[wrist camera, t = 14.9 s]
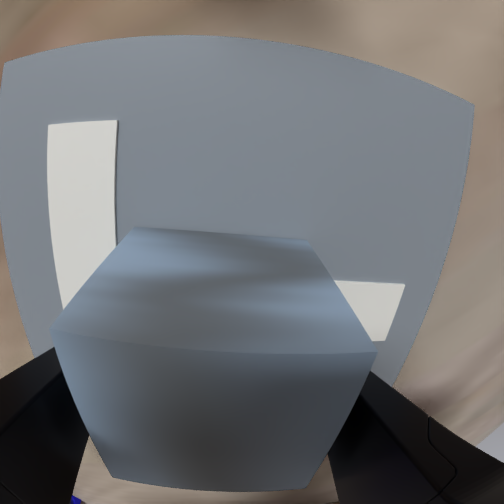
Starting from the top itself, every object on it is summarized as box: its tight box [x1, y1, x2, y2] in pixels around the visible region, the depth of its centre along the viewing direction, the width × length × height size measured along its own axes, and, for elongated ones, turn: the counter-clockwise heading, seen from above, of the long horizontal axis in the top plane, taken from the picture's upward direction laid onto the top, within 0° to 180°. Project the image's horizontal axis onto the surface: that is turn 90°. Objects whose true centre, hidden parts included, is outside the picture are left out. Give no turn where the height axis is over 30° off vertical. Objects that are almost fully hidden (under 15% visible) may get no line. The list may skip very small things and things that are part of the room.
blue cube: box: [49, 227, 378, 492], centre depth 7 cm, size 5×5×5 cm
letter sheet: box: [0, 35, 474, 387], centre depth 10 cm, size 16×16×1 cm
